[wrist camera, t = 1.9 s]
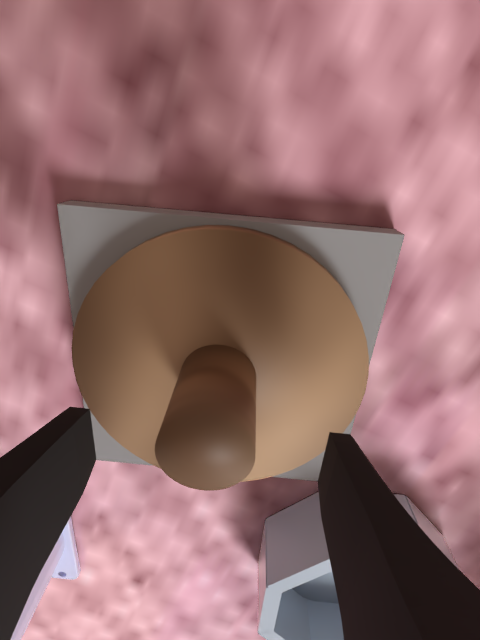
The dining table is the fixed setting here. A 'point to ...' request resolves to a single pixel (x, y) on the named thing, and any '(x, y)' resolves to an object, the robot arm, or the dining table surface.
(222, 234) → the lid
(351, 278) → the mat
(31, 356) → the dining table surface
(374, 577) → the robot arm
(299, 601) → the bowl
